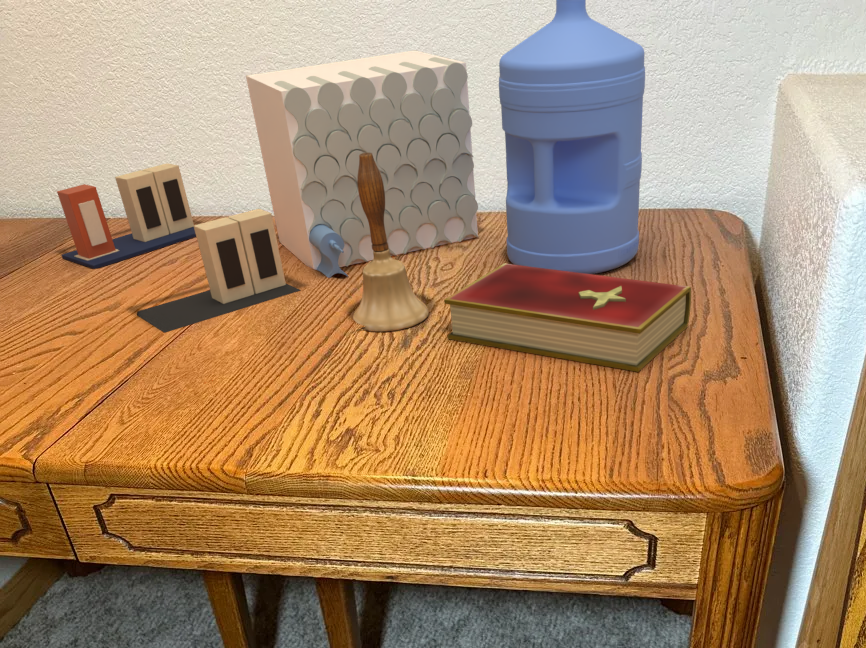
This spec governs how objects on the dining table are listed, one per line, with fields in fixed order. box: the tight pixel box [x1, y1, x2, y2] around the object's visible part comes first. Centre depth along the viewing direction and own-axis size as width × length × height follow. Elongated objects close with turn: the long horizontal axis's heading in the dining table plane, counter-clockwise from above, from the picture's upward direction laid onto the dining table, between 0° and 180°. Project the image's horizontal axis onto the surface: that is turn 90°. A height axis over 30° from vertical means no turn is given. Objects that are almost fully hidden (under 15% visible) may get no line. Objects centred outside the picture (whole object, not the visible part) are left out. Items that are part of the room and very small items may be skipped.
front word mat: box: [136, 208, 301, 334], centre depth 102 cm, size 17×9×8 cm, turn 128°
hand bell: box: [352, 153, 430, 333], centre depth 93 cm, size 8×8×16 cm
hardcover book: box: [443, 262, 692, 373], centre depth 90 cm, size 12×21×4 cm, turn 58°
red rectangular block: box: [56, 183, 116, 259], centre depth 120 cm, size 4×3×8 cm
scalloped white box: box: [245, 49, 480, 279], centre depth 111 cm, size 22×24×20 cm
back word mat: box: [61, 162, 197, 270], centre depth 124 cm, size 18×9×8 cm, turn 137°
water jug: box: [498, 0, 646, 275], centre depth 100 cm, size 16×16×28 cm
